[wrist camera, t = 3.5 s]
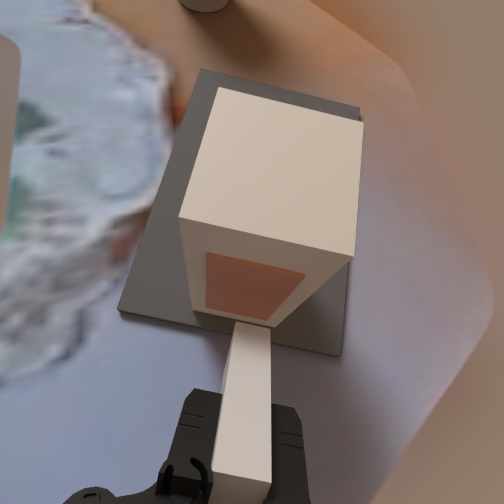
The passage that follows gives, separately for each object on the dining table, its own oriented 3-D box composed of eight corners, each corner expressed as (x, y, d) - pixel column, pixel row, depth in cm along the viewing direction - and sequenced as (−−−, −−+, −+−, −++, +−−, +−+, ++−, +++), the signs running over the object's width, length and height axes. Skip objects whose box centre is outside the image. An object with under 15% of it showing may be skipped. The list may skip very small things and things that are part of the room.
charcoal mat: (337, 357, 25) (340, 356, 24) (118, 311, 24) (116, 309, 23) (357, 112, 34) (359, 107, 34) (200, 73, 33) (200, 68, 33)
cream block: (274, 330, 24) (353, 261, 11) (191, 312, 24) (176, 222, 11) (286, 251, 27) (363, 122, 14) (211, 234, 26) (218, 86, 14)
